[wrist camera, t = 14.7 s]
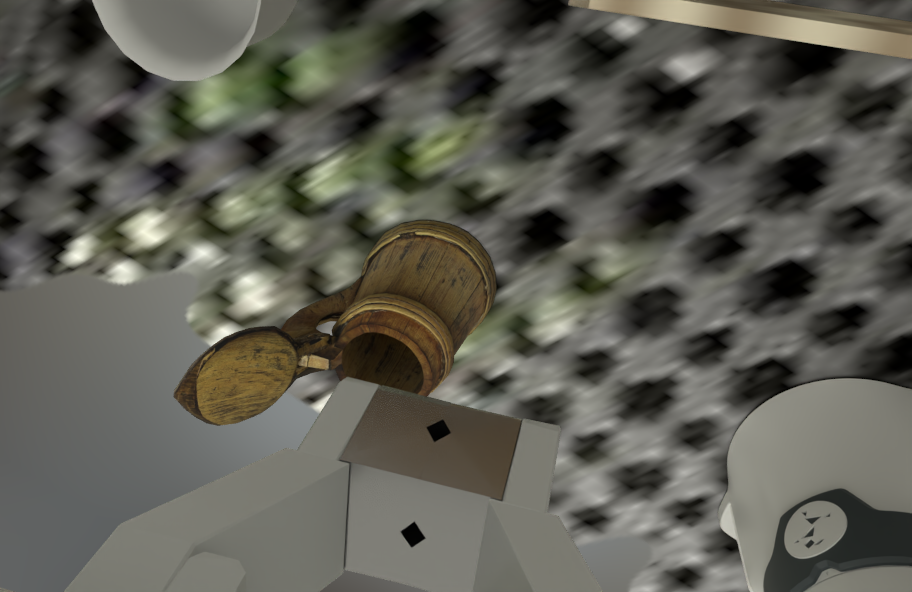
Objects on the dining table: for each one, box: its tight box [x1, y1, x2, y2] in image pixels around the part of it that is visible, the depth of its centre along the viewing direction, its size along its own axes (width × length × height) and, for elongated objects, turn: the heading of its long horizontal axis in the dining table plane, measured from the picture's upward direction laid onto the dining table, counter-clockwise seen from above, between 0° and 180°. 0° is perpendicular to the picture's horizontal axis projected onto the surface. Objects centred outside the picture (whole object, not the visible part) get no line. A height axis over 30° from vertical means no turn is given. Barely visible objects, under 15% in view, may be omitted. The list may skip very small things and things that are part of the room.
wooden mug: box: [174, 221, 496, 426], centre depth 45 cm, size 9×14×18 cm, turn 80°
